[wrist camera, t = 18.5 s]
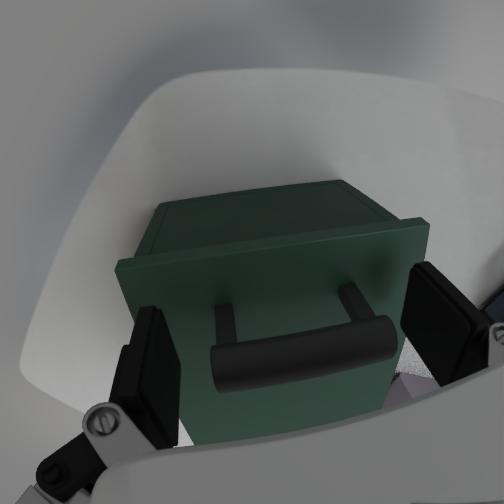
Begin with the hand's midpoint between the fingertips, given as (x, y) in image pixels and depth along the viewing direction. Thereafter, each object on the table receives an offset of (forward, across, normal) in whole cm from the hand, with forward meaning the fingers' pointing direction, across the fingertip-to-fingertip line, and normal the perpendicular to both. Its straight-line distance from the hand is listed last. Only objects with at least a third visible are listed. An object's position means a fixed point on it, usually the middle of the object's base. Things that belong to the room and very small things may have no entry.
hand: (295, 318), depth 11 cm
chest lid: (+2, 0, +6) cm, 6 cm away
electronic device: (+12, -17, +25) cm, 33 cm away
